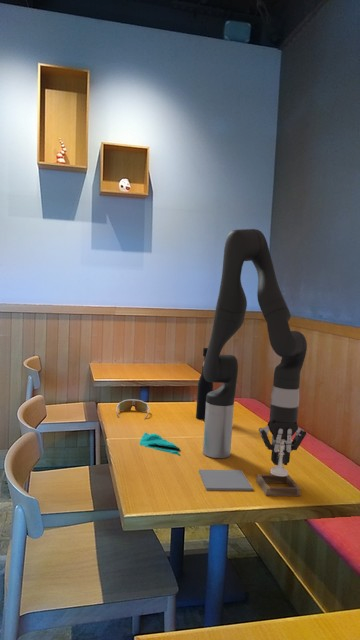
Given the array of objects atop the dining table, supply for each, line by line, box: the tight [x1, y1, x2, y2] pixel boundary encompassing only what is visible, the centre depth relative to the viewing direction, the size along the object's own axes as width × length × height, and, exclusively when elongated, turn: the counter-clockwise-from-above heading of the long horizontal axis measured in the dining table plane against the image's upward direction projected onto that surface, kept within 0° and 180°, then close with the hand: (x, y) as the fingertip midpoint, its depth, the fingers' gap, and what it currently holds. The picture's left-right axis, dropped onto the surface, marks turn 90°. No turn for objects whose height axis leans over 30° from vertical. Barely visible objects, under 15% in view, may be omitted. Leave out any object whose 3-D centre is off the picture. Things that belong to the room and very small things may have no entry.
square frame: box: [255, 474, 302, 497], centre depth 129 cm, size 10×10×2 cm
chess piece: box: [270, 439, 289, 476], centre depth 129 cm, size 5×5×10 cm
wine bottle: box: [195, 347, 214, 421], centre depth 198 cm, size 6×6×30 cm
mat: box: [198, 469, 254, 492], centre depth 132 cm, size 13×13×1 cm
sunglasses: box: [115, 399, 150, 420], centre depth 198 cm, size 14×15×5 cm
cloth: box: [139, 431, 181, 456], centre depth 162 cm, size 26×14×2 cm, turn 18°
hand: (279, 463), depth 129 cm, fingers closed on chess piece
